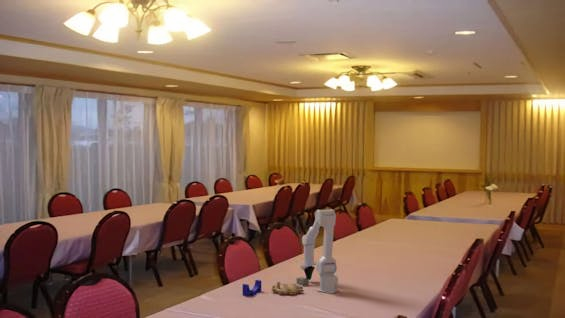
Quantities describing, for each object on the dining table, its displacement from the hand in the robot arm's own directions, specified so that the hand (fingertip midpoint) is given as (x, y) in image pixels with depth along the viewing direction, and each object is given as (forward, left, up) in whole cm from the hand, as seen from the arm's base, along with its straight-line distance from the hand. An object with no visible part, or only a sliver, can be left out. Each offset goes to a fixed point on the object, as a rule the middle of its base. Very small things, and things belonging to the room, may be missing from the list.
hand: (308, 279), depth 321 cm
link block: (0, +7, -2) cm, 7 cm away
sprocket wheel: (0, +24, -1) cm, 24 cm away
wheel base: (0, +24, -1) cm, 24 cm away
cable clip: (+13, +37, -2) cm, 39 cm away
